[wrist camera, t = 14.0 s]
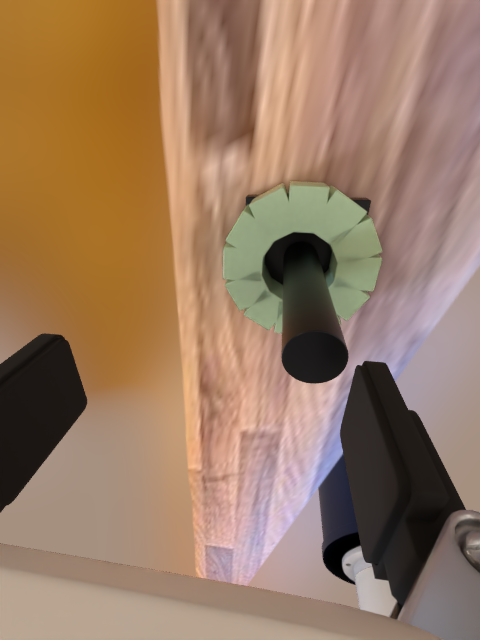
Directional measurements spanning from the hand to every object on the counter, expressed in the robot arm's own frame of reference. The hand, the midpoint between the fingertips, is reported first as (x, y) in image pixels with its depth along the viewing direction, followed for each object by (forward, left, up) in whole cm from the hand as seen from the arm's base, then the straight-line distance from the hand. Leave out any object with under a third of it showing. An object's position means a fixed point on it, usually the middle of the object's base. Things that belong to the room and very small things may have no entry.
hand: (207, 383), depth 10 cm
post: (-4, 0, -15) cm, 15 cm away
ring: (-3, 0, -14) cm, 14 cm away
